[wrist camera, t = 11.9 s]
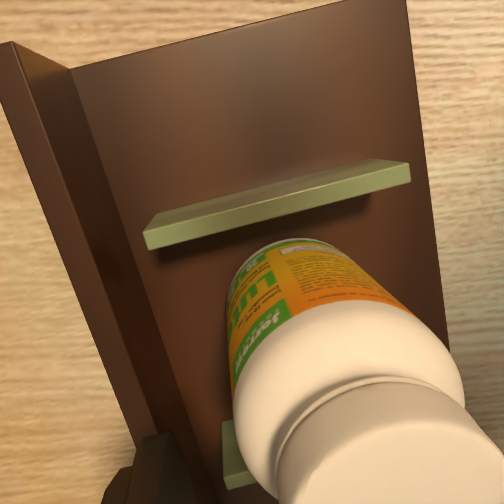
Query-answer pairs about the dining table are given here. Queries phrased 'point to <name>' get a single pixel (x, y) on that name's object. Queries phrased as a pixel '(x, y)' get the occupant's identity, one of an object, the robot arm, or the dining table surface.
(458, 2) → the dining table surface
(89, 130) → the wooden divided tray
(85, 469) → the dining table surface
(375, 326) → the supplement bottle
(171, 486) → the robot arm
